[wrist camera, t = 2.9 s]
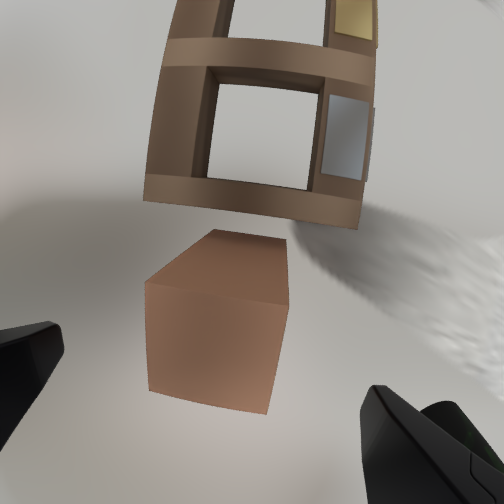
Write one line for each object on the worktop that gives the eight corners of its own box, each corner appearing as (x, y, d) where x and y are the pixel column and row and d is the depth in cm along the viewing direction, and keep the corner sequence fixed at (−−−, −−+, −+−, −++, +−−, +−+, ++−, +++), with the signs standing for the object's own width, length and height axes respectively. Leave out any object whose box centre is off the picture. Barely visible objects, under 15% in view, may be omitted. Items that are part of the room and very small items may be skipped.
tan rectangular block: (286, 239, 17) (289, 306, 8) (275, 306, 18) (266, 414, 9) (214, 229, 17) (144, 281, 8) (207, 295, 18) (149, 390, 9)
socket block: (365, -8, 12) (377, -35, 9) (347, 221, 16) (362, 231, 13) (204, -23, 13) (192, -50, 10) (165, 196, 17) (141, 201, 14)
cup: (395, 463, 20) (421, 566, 9) (382, 418, 19) (419, 549, 7) (468, 428, 19) (515, 518, 7) (468, 375, 17) (540, 480, 6)
